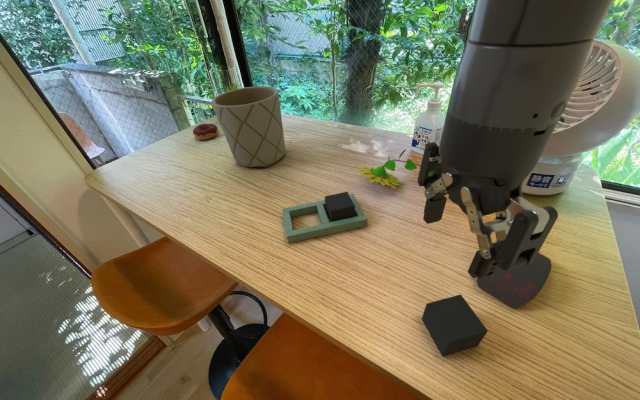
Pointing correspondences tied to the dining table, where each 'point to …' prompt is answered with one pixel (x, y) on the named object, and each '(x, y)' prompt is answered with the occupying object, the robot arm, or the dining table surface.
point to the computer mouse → (517, 282)
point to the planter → (252, 124)
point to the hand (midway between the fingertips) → (452, 244)
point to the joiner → (325, 225)
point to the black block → (453, 325)
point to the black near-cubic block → (339, 206)
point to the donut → (205, 131)
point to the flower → (381, 174)
